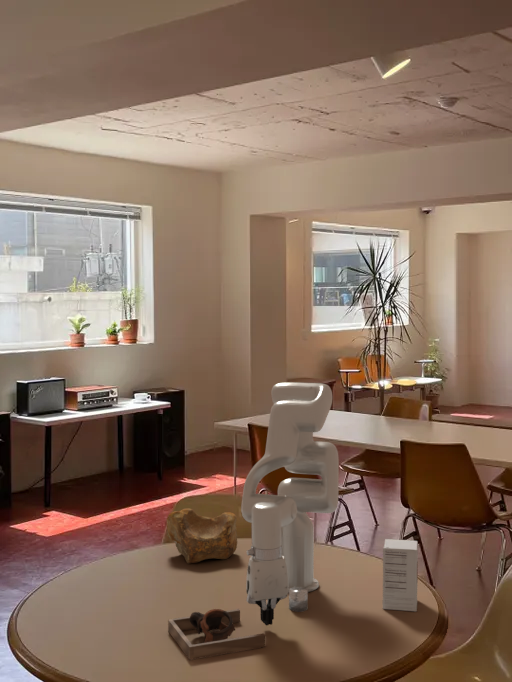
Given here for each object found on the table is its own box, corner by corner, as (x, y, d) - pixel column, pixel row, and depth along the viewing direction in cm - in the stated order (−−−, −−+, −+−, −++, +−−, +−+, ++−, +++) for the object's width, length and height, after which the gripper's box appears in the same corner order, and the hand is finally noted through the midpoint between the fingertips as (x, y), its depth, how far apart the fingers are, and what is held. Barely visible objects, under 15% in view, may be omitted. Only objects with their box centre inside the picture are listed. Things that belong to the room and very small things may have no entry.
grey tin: (286, 606, 229) (286, 588, 229) (302, 603, 231) (302, 586, 231) (293, 612, 225) (293, 594, 224) (310, 610, 226) (310, 592, 226)
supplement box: (417, 612, 225) (417, 550, 224) (382, 609, 227) (382, 548, 226) (417, 599, 234) (418, 539, 233) (384, 597, 236) (384, 538, 235)
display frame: (168, 631, 212) (168, 619, 212) (238, 620, 219) (238, 609, 219) (189, 659, 196) (189, 647, 195) (265, 647, 203) (265, 634, 202)
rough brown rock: (160, 568, 263) (161, 523, 261) (167, 548, 280) (168, 505, 278) (235, 571, 263) (236, 525, 261) (237, 551, 279) (238, 507, 277)
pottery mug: (238, 633, 212) (241, 611, 208) (224, 663, 205) (227, 641, 200) (194, 617, 215) (196, 595, 210) (179, 645, 207) (181, 624, 203)
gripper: (244, 560, 205) (244, 633, 207) (300, 552, 211) (300, 624, 212) (233, 551, 212) (234, 622, 214) (287, 544, 218) (288, 613, 219)
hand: (267, 622), depth 213 cm, fingers closed
